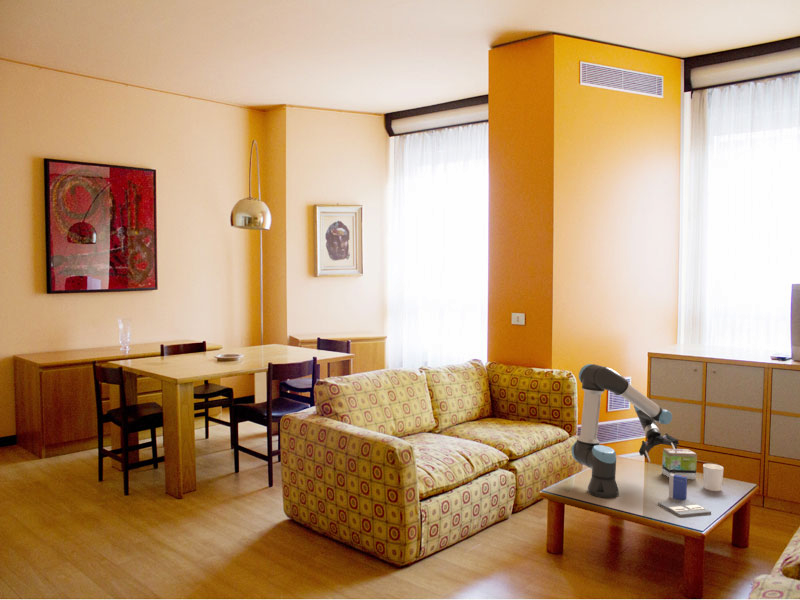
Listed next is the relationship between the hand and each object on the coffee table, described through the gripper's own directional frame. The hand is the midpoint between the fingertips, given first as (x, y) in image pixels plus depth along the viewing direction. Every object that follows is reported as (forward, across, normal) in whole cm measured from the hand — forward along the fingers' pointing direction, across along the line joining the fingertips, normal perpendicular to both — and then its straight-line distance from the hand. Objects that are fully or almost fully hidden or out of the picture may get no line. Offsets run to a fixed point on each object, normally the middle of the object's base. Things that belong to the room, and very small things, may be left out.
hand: (662, 455), depth 310 cm
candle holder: (-11, -17, -35) cm, 40 cm away
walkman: (+8, +2, -21) cm, 22 cm away
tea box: (-28, -4, -34) cm, 44 cm away
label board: (+22, +1, -16) cm, 28 cm away
